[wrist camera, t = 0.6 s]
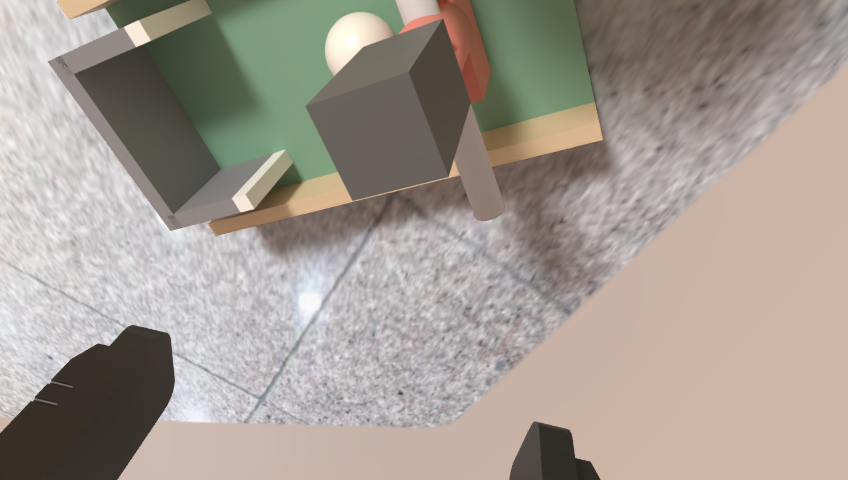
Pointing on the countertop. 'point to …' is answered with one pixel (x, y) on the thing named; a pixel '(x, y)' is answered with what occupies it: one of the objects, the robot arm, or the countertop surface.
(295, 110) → the pitch
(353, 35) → the ball
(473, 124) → the striker
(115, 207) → the countertop surface
